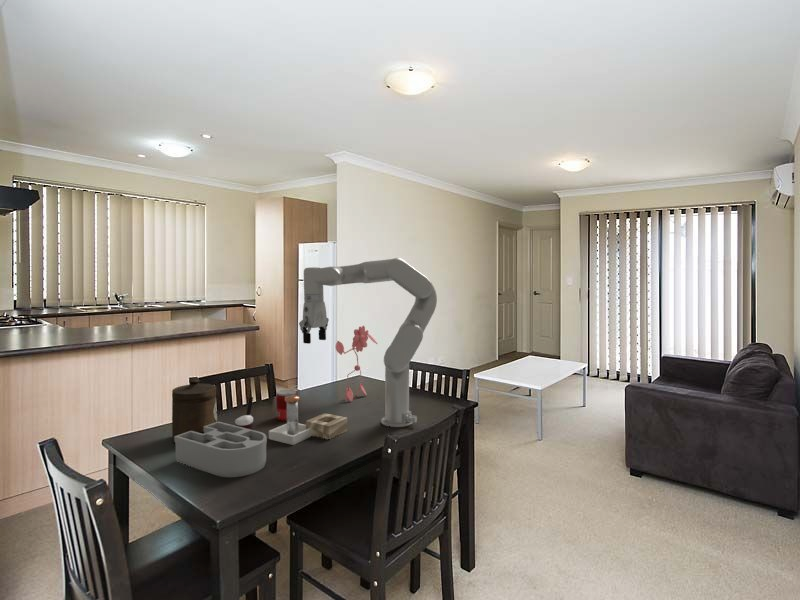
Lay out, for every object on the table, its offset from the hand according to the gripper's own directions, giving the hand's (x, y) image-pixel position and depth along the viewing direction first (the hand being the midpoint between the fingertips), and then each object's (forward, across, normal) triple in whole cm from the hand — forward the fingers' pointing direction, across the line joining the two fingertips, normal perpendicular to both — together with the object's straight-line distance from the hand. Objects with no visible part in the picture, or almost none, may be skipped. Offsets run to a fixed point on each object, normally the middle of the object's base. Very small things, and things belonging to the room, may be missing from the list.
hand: (314, 341), depth 183 cm
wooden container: (+32, -35, +28) cm, 55 cm away
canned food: (+32, -2, +13) cm, 35 cm away
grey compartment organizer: (+33, -45, 0) cm, 56 cm away
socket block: (+32, -8, -11) cm, 35 cm away
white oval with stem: (+32, -22, +16) cm, 43 cm away
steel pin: (+32, -18, -3) cm, 36 cm away
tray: (+32, -18, -3) cm, 37 cm away
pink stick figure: (+33, +35, +1) cm, 48 cm away
